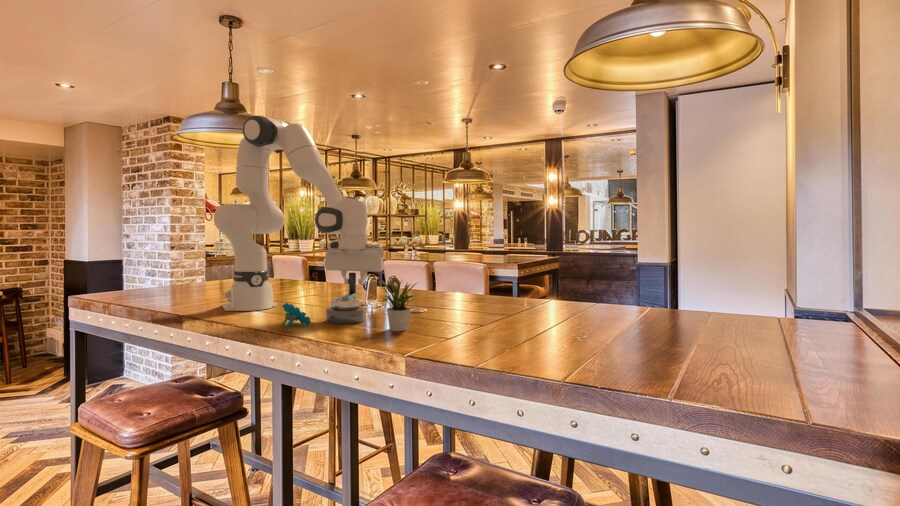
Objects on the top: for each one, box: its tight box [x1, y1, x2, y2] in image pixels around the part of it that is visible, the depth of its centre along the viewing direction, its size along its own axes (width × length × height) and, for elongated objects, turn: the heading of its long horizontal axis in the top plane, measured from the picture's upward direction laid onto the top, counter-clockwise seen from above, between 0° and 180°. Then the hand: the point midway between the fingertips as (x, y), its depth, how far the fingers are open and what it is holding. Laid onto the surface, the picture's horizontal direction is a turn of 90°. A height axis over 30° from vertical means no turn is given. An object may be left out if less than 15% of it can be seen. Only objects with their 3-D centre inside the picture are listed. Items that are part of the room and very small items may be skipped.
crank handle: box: [330, 271, 360, 310], centre depth 162 cm, size 16×9×11 cm, turn 178°
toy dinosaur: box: [280, 302, 312, 329], centre depth 149 cm, size 11×6×10 cm
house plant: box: [378, 278, 420, 332], centre depth 145 cm, size 14×14×16 cm
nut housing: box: [325, 305, 365, 326], centre depth 159 cm, size 12×12×4 cm
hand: (354, 284), depth 168 cm, fingers open, 4 cm apart
